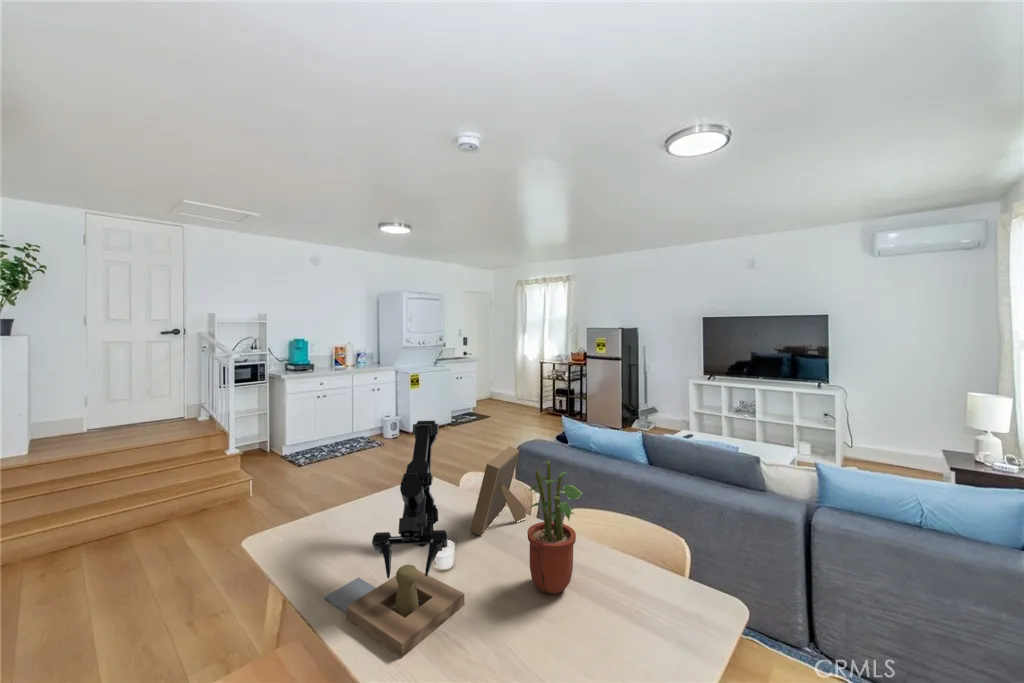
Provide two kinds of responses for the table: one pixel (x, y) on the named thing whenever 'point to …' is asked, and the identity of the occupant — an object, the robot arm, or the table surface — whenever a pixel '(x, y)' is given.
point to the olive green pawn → (406, 590)
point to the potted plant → (552, 538)
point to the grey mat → (349, 593)
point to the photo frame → (497, 492)
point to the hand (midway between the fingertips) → (407, 577)
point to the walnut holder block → (415, 627)
